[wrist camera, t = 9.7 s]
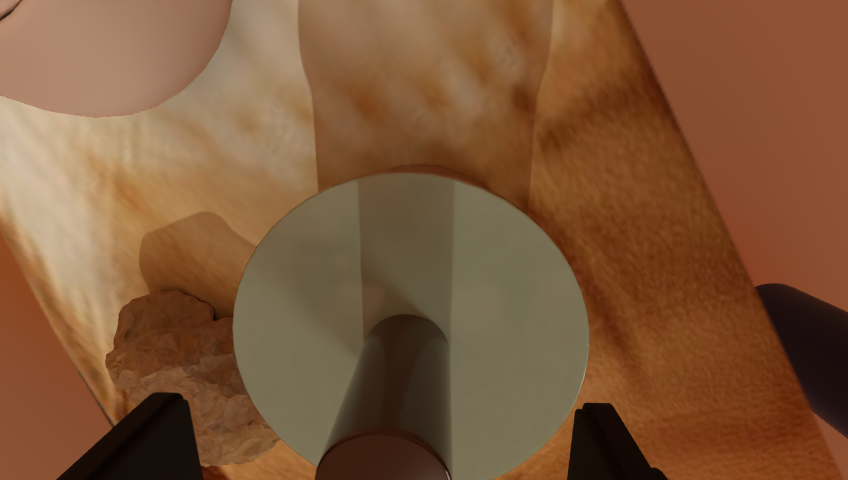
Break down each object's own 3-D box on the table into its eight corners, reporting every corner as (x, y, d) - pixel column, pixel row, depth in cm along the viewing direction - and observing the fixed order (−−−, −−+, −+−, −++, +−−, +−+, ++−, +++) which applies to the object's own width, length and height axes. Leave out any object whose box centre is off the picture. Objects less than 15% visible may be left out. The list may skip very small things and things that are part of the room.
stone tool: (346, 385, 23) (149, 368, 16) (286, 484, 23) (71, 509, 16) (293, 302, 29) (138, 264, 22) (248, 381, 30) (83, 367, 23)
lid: (596, 168, 13) (744, 206, 7) (563, 475, 16) (640, 702, 10) (227, 168, 14) (31, 202, 7) (266, 464, 17) (156, 668, 10)
